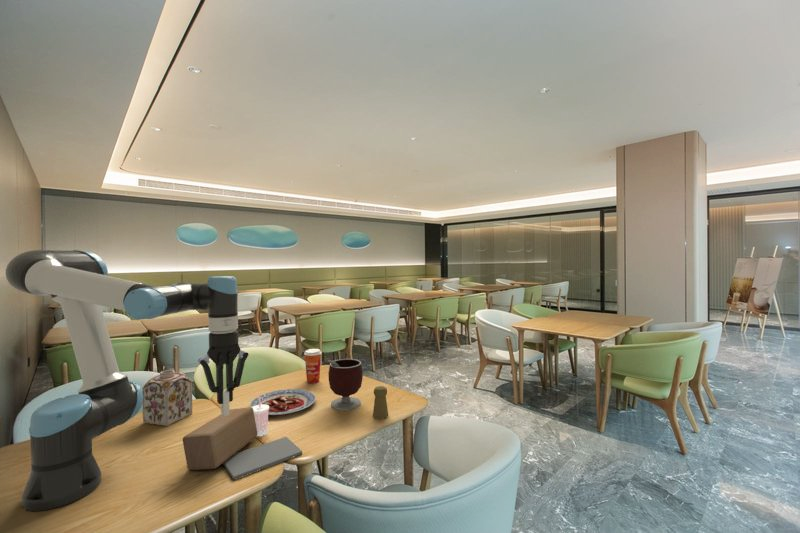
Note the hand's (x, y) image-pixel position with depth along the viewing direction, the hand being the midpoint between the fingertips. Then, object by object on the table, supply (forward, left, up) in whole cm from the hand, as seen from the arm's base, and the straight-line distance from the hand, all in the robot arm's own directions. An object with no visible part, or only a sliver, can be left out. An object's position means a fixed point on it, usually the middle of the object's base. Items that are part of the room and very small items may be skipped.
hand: (225, 413), depth 104 cm
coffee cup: (+54, +53, -17) cm, 78 cm away
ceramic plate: (+31, +34, -17) cm, 49 cm away
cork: (+55, 0, -17) cm, 58 cm away
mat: (+10, 0, -17) cm, 19 cm away
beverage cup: (+15, +16, -17) cm, 28 cm away
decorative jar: (-7, +51, -17) cm, 54 cm away
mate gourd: (+50, +18, -17) cm, 56 cm away
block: (-7, +4, -11) cm, 13 cm away
